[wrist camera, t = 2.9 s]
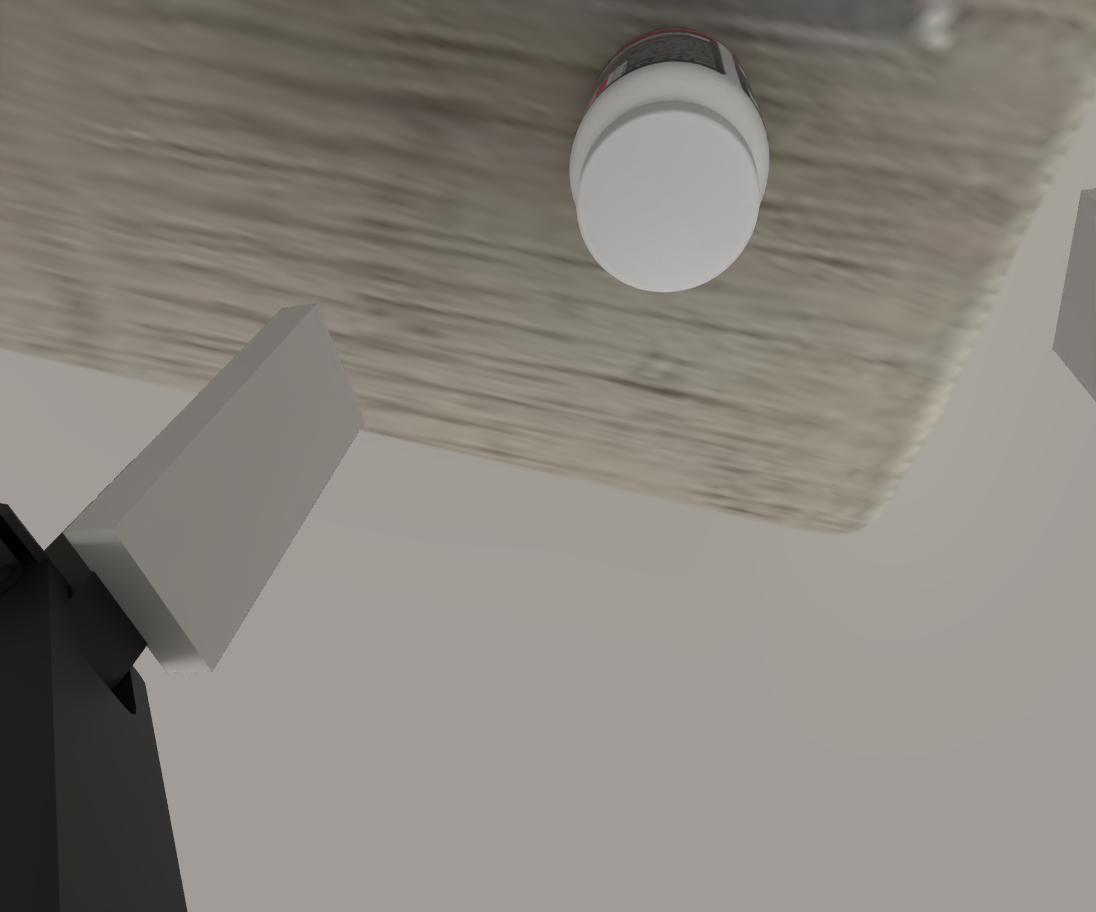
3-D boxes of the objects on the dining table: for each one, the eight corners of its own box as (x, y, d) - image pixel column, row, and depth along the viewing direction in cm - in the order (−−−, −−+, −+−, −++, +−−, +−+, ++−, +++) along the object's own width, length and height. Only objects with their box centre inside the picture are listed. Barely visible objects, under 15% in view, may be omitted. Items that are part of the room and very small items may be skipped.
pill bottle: (561, 143, 28) (514, 239, 20) (647, -11, 25) (630, 32, 17) (689, 224, 29) (691, 345, 22) (786, 86, 26) (831, 169, 18)
